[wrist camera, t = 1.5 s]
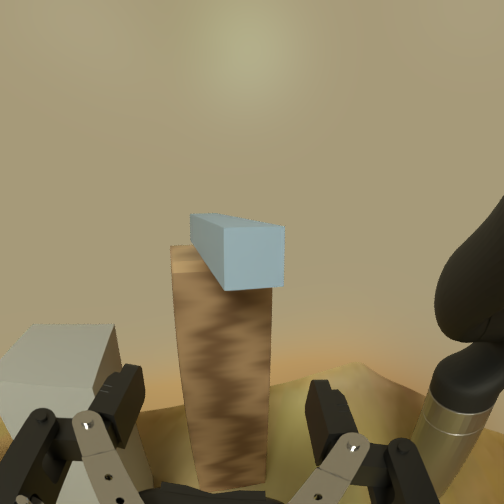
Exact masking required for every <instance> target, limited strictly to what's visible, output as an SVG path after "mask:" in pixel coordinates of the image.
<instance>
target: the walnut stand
mask: <svg viewBox="0 0 504 504" xmlns="http://www.w3.org/2000/svg"><path fill="white" fill-rule="evenodd" d="M170 251H171V273H172V290H173V304H174V316H175V328H176V339H177V349H178V358H179V367H180V374H181V382H182V390H183V398H184V405H185V411H186V418H187V424H188V430H189V436H190V442H191V447H192V452H193V457H194V462H195V467H196V472H197V477H198V481H199V485H200V490H201V491H205V492H213V491H220V490H227V489H233V488H239V487H245V486H250V485H255V484H260V483H265V475H266V456H267V435H268V413H269V388H270V358H271V357H270V356H271V322H272V321H271V320H272V287H271V288H259V289H246V290H232V291H224V289H223V288H222V287H221V285H220V284H219V282H218V281H217V279H216V278H215V276H214V275H213V273H212V272H211V270H210V269H209V267H208V266H207V265H206V263H205V262H204V260H203V259H202V257H201V256H200V254H199V253H198V251H197V250H196V248H195V247H194V245H178V246H170Z"/></svg>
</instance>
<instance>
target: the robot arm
mask: <svg viewBox="0 0 504 504" xmlns="http://www.w3.org/2000/svg"><path fill="white" fill-rule="evenodd" d="M434 308H435V315H436V320H437V323H438V326H439V327H440V329H441V331H442V332H443V333H444V334H445V335H446V336H447V337H449V338H450V339H452V340H455V341H459V342H465V343H470V342H473V343H472V344H471V345H470V346H468V347H467V348H465V349H463V350H461V351H459V352H457V353H454V354H452V355H450V356H448V357H446V358H445V359H443V360H442V361H440V363H439V364H438V365H437V367H436V369H435V371H434V373H433V377H432V380H431V383H430V386H429V390H428V393H427V396H426V399H425V402H424V404H423V408H422V410H421V413H420V416H419V419H418V421H417V424H416V426H415V429H414V431H413V434H412V436H411V439H410V440H409V439H406V438H397V439H394V440H392V441H391V442H390V443H389V445H381V444H373V443H370V442H369V441H368V439H367V438H366V437H365V436H363V435H361V434H359V433H358V430H357V427H356V425H355V422H354V419H353V417H352V414H351V412H350V409H349V406H348V405H347V401H346V399H345V396H344V395H343V394H342V393H341V392H340V391H339V390H338V389H337V390H331V387H330V384H329V381H328V380H312V381H311V383H310V387H309V391H308V395H307V399H306V404H305V415H306V420H307V425H308V429H309V434H310V439H311V444H312V448H313V453H314V458H315V463H316V466H319V465H320V467H317V468H316V469H315V470H314V471H313V473H312V474H311V475H310V477H309V478H308V479H307V480H306V482H305V483H304V484H303V485H302V487H301V488H300V489H299V490H298V492H297V493H296V494H295V495H294V496H293V498H292V499H291V500H290V501H289V502H288V503H287V504H338V502H339V501H340V499H341V498H342V496H343V494H344V493H345V491H346V490H347V488H348V486H349V485H350V484H351V485H359V486H367V487H368V491H369V495H370V499H371V504H440V502H439V499H438V498H440V497H441V496H442V495H443V494H444V493H445V491H446V490H447V488H448V487H449V485H450V484H451V483H452V481H453V480H454V478H455V477H456V475H457V474H458V472H459V470H460V469H461V467H462V466H463V464H464V462H465V461H466V459H467V457H468V456H469V454H470V452H471V450H472V449H473V447H474V445H475V443H476V441H477V440H478V438H479V436H480V434H481V432H482V430H483V428H484V426H485V424H486V422H487V420H488V417H489V415H490V413H491V411H492V409H493V406H494V404H495V402H496V400H497V398H498V396H499V394H500V392H501V391H502V390H503V389H504V196H503V197H502V199H501V200H500V202H499V203H498V204H497V206H496V207H495V209H494V210H493V211H492V213H491V214H490V215H489V217H488V218H487V219H486V220H485V221H484V222H483V223H482V224H481V226H480V227H479V228H478V229H477V230H476V231H475V232H474V233H473V234H472V235H471V236H470V237H469V238H468V239H467V240H466V241H465V242H464V243H463V244H462V245H461V246H460V247H459V248H458V249H457V250H456V251H455V252H454V253H453V254H452V256H451V257H450V258H449V260H448V262H447V263H446V265H445V266H444V269H443V271H442V273H441V275H440V278H439V281H438V284H437V288H436V293H435V301H434ZM144 399H145V386H144V379H143V373H142V368H141V366H137V365H131V364H125V365H124V366H123V368H122V370H121V372H120V373H119V372H114V373H112V374H111V375H109V376H108V377H107V378H106V380H105V382H104V383H103V385H102V386H101V388H100V391H98V393H97V395H96V396H95V398H94V400H93V401H92V403H91V405H90V406H89V408H88V410H85V411H81V412H79V413H77V414H76V415H75V416H74V417H73V418H58V417H56V416H55V414H54V412H53V411H52V410H50V409H48V408H38V409H35V410H34V411H32V412H31V413H30V415H29V416H28V418H27V419H26V421H25V422H24V424H23V426H22V427H21V429H20V430H19V432H18V434H17V435H16V437H15V438H14V440H13V442H12V443H11V445H10V447H9V448H8V450H7V452H6V454H5V455H4V457H3V459H2V461H1V462H0V504H56V502H57V499H58V496H59V494H60V491H61V489H62V486H63V484H64V481H65V478H66V476H67V473H68V471H69V469H70V466H71V464H72V461H83V464H84V467H85V469H86V472H87V475H88V477H89V480H90V482H91V485H92V487H93V490H94V492H95V494H96V497H97V499H98V501H99V503H100V504H284V503H282V502H280V501H277V500H275V499H271V498H267V497H265V491H241V490H239V491H232V492H225V493H216V494H212V493H208V492H205V491H201V490H198V489H195V488H192V487H189V486H186V485H180V484H173V483H167V482H162V483H161V487H160V488H150V489H146V490H143V491H140V492H137V490H136V488H135V486H134V485H133V483H132V481H131V479H130V477H129V475H128V473H127V471H126V469H125V467H124V465H123V463H122V461H121V459H120V457H119V455H118V453H117V451H116V449H117V447H118V448H122V449H125V448H126V445H127V442H128V440H129V437H130V435H131V432H132V430H133V427H134V425H135V422H136V420H137V417H138V415H139V412H140V410H141V407H142V405H143V403H144Z"/></svg>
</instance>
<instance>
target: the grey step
mask: <svg viewBox="0 0 504 504" xmlns="http://www.w3.org/2000/svg"><path fill="white" fill-rule="evenodd" d="M121 370H122V364H121V359H120V353H119V348H118V343H117V337H116V330H115V324H78V325H77V324H75V325H74V324H73V325H71V324H33V325H32V326H31V327H30V328H29V329H28V330H27V331H26V332H25V333H24V334H23V335H22V336H21V337H20V338H19V339H18V340H17V342H16V343H15V344H14V345H13V346H12V347H11V348H10V349H9V350H8V351H7V353H6V354H5V355H4V356H3V357H2V358H1V359H0V415H1V417H2V420H3V422H4V424H5V425H6V427H7V429H8V431H9V433H10V435H11V437H12V439H13V440H14V438H15V437H16V435H17V434H18V432H19V430H20V429H21V427H22V426H23V424H24V422H25V421H26V419H27V418H28V416H29V415H30V413H31V412H32V411H34V410H35V409H38V408H48V409H50V410H52V411H53V412H54V414H55V416H56V417H58V418H73V417H74V416H75V415H76V414H77V413H79V412H81V411H85V410H88V408H89V406H90V405H91V403H92V401H93V400H94V398H95V396H96V395H97V393H98V391H100V388H101V386H102V385H103V383H104V382H105V380H106V378H107V377H108V376H109V375H111V374H112V373H114V372H119V373H120V372H121ZM116 451H117V453H118V455H119V457H120V459H121V461H122V463H123V465H124V467H125V469H126V471H127V473H128V475H129V477H130V479H131V481H132V483H133V485H134V486H135V488H136V490H137V492H140V491H143V490H146V489H150V488H154V485H153V475H152V472H151V469H150V467H149V464H148V461H147V458H146V455H145V452H144V449H143V445H142V442H141V439H140V436H139V432H138V429H137V426H136V422H135V425H134V427H133V430H132V432H131V435H130V437H129V440H128V442H127V445H126V448H125V449H122V448H118V447H117V449H116ZM56 504H100V503H99V501H98V499H97V497H96V494H95V492H94V490H93V487H92V485H91V482H90V480H89V477H88V475H87V472H86V469H85V467H84V464H83V461H72V464H71V466H70V469H69V471H68V473H67V476H66V478H65V481H64V484H63V486H62V489H61V491H60V494H59V496H58V499H57V502H56Z"/></svg>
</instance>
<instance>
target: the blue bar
mask: <svg viewBox="0 0 504 504" xmlns="http://www.w3.org/2000/svg"><path fill="white" fill-rule="evenodd" d="M190 237H191V238H190V240H191V242H192V243H193V245H194V247H195V248H196V250H197V251H198V253H199V254H200V256H201V257H202V259H203V260H204V262H205V263H206V265H207V266H208V267H209V269H210V270H211V272H212V273H213V275H214V276H215V278H216V279H217V281H218V282H219V284H220V285H221V287H222V288H223V289H224V291H232V290H246V289H259V288H271V287H283V286H284V244H285V243H284V242H285V240H284V239H285V227H284V226H280V225H274V224H269V223H264V222H259V221H254V220H249V219H243V218H238V217H233V216H228V215H222V214H217V213H212V214H211V213H208V214H190Z"/></svg>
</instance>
